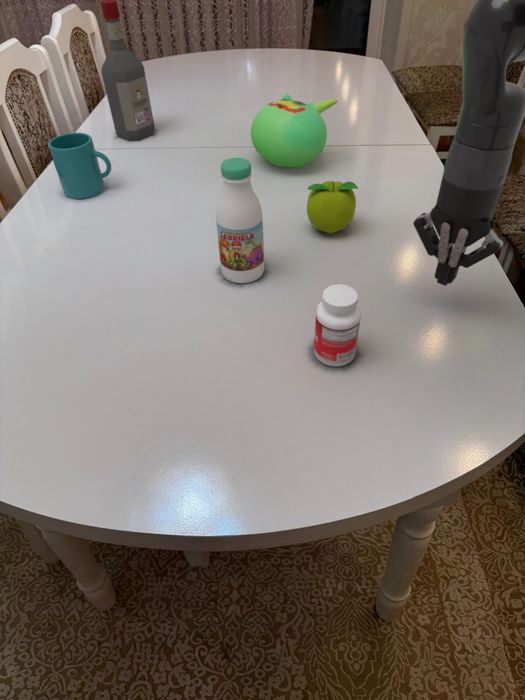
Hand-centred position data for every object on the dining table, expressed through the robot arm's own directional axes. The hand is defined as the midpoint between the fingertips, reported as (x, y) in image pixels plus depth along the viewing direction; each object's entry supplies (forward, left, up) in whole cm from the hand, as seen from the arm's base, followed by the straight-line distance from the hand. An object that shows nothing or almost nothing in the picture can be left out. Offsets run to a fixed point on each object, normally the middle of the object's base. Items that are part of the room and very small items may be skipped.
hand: (443, 281), depth 76 cm
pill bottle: (+8, +18, -6) cm, 20 cm away
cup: (+80, +6, -6) cm, 80 cm away
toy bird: (+51, -31, -6) cm, 60 cm away
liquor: (+96, -22, -6) cm, 99 cm away
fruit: (+27, -11, -6) cm, 30 cm away
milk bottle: (+32, +10, -6) cm, 34 cm away
